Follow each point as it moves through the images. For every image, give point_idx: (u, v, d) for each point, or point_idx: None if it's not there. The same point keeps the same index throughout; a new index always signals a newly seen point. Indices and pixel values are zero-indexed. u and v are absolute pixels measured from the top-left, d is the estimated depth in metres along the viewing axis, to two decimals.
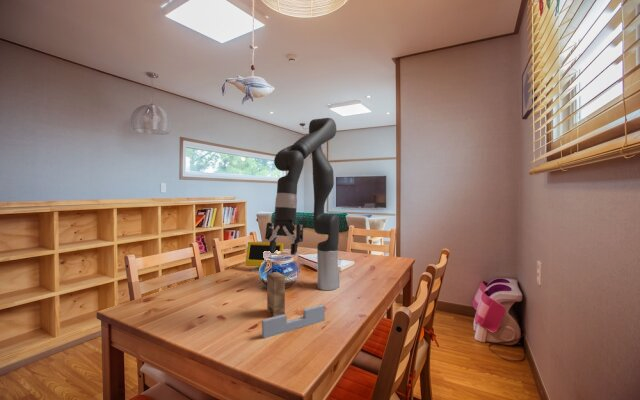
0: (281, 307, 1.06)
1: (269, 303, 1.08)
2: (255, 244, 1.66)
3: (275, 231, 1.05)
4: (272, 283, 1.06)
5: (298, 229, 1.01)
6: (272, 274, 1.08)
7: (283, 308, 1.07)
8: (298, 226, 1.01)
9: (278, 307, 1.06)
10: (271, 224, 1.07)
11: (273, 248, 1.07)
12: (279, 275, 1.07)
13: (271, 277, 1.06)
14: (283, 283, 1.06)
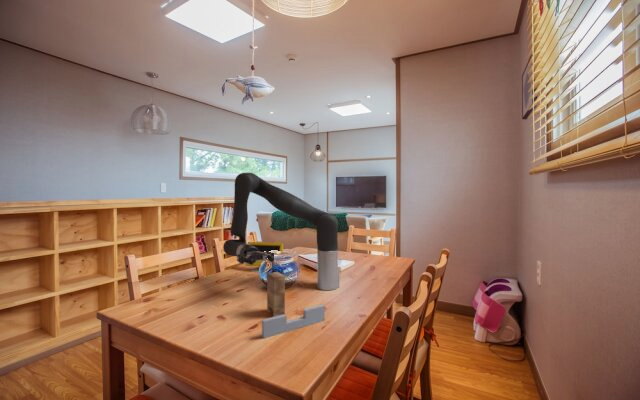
0: (281, 307, 1.06)
1: (269, 303, 1.08)
2: (255, 244, 1.66)
3: None
4: (272, 283, 1.06)
5: None
6: (272, 274, 1.08)
7: (283, 308, 1.07)
8: (238, 260, 1.22)
9: (278, 307, 1.06)
10: None
11: (270, 259, 1.20)
12: (279, 275, 1.07)
13: (271, 277, 1.06)
14: (283, 283, 1.06)
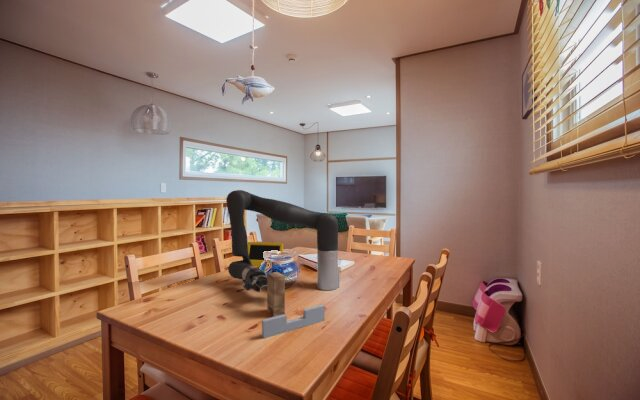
0: (281, 307, 1.06)
1: (269, 303, 1.08)
2: (255, 244, 1.66)
3: None
4: (272, 283, 1.06)
5: None
6: (272, 274, 1.08)
7: (283, 308, 1.07)
8: None
9: (278, 307, 1.06)
10: None
11: None
12: (279, 275, 1.07)
13: (271, 277, 1.06)
14: (283, 283, 1.06)
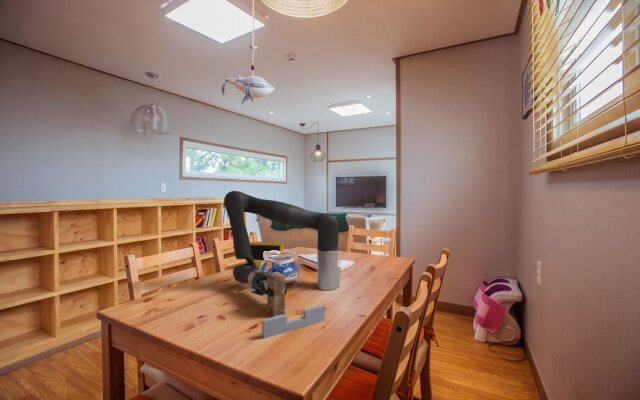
0: (281, 307, 1.06)
1: (269, 303, 1.08)
2: (255, 244, 1.66)
3: None
4: (272, 283, 1.06)
5: None
6: (272, 274, 1.08)
7: (283, 308, 1.07)
8: None
9: (278, 307, 1.06)
10: None
11: None
12: (279, 275, 1.07)
13: (271, 277, 1.06)
14: (283, 283, 1.06)
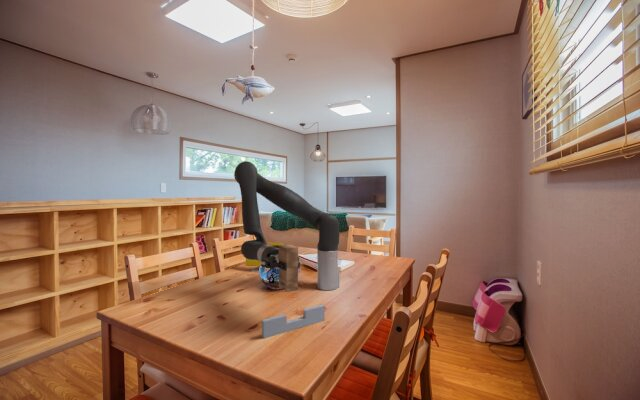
0: (294, 281, 0.97)
1: (280, 277, 0.99)
2: None
3: None
4: (284, 255, 0.97)
5: None
6: (284, 246, 0.99)
7: (296, 283, 0.97)
8: None
9: (291, 281, 0.96)
10: None
11: None
12: (292, 247, 0.97)
13: (283, 249, 0.97)
14: (296, 255, 0.97)
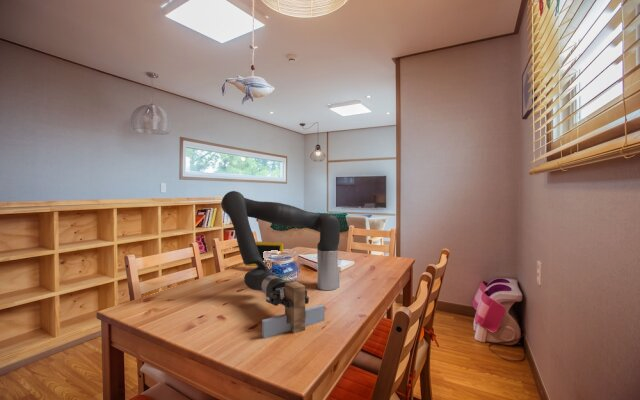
0: (301, 321, 0.95)
1: (287, 317, 0.97)
2: None
3: None
4: (291, 295, 0.94)
5: None
6: (291, 284, 0.97)
7: (303, 322, 0.95)
8: None
9: (298, 321, 0.94)
10: None
11: None
12: (299, 285, 0.95)
13: (290, 288, 0.95)
14: (303, 294, 0.95)
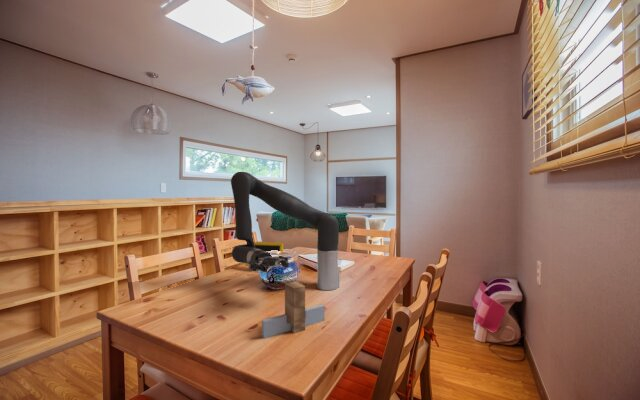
0: (301, 321, 0.95)
1: (287, 317, 0.97)
2: (255, 244, 1.66)
3: None
4: (291, 295, 0.94)
5: None
6: (291, 284, 0.97)
7: (303, 322, 0.95)
8: None
9: (298, 321, 0.94)
10: None
11: (284, 264, 1.11)
12: (299, 285, 0.95)
13: (290, 288, 0.95)
14: (303, 294, 0.95)
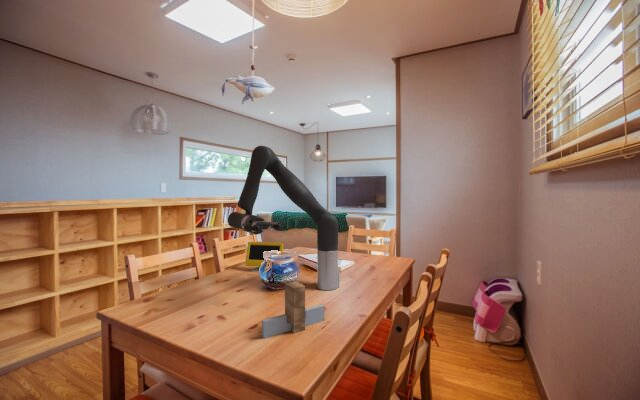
0: (301, 321, 0.95)
1: (287, 317, 0.97)
2: (255, 244, 1.66)
3: (267, 230, 1.19)
4: (291, 295, 0.94)
5: (244, 230, 1.15)
6: (291, 284, 0.97)
7: (303, 322, 0.95)
8: None
9: (298, 321, 0.94)
10: None
11: (277, 227, 1.15)
12: (299, 285, 0.95)
13: (290, 288, 0.95)
14: (303, 294, 0.95)
